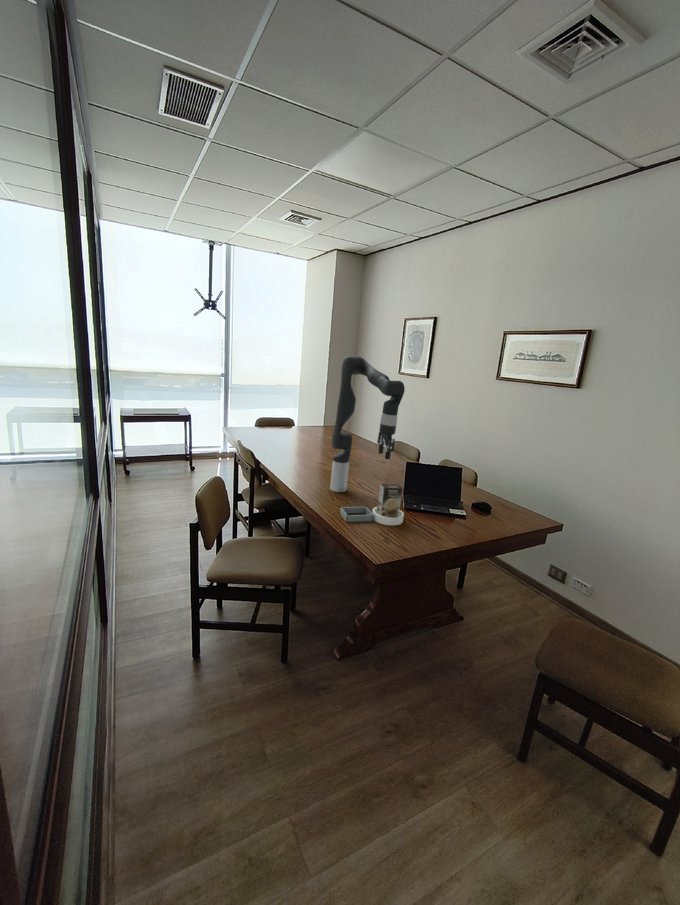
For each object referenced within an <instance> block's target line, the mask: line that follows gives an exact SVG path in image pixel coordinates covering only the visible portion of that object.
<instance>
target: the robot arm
mask: <svg viewBox="0 0 680 905" xmlns="http://www.w3.org/2000/svg"><path fill="white" fill-rule="evenodd" d="M355 375H356V376H357V375H362V376H365V377H366V378H367V381H368V382H369V383H370V384H371V385H373V386H374V387H376V388H377V389H378V390H379V391H380V392H381V393H382V394H383V395H385V396H387V397H390V399H388V400H386V401H384V402H383V405H382V414H381V417H380V424H379V432H378V436H377V444H378V451H377V453H378V454H380V455H382V454H384V448H385V454H384V459H385V460H390V458H391V453H392V452H394V451H395V442H396V438H393V435H395V434H396V430H397V424H398V423H397V422H398V413H399V412H398V411H399V406H400V405H401V401H402V399H403V396H404V394H405V390H406V388H405V384H404V383H403V381H401V380H391V379H390V377H389V376H388V375H387V374H385V373H383V372H381V371H379V370H377V369H376V368H375V367H373V366H372V365H371V364H370V363H369V362H368V361H367V360H366V359H365V358H363V357H362V356H358V355H357V356H354V355H351V356H350V355H349V356H345V357H344V358H343V360H342V364H341V374H340V376H341V377H340V387H339V393H338V394H339V396H338V401H337V409H336V418H335V423H334V427H333V432H332V436H331V447H332V448H333V449H335V450H341V451H340V452H338V453H334V455H333V456H332V464H331V474H330V486H329V489H330V491H332V492H335V493H344V492H346V491H347V485H348V475H349V467H350V466H349V465H350V457H351V452H352V451H351V450H352V444H353V435H352V434H351V433H350V432H342V430H343V427H344V425H345V424H346V423H347V422H348V421H349V419H350V418H351V417H352V416H353V415H354V413H355V408H356V402H357V398H356V396H355V393H354V390H353V388H352V376H355Z"/></svg>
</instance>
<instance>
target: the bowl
mask: <svg viewBox="0 0 680 905" xmlns="http://www.w3.org/2000/svg"><path fill="white" fill-rule="evenodd" d="M371 513H372V514H373V515H374V518H373V522H376V523H378V524H381V525H385V526H399V525H401V524H403V522H404V517H405V513H404V511H402V510H400V509H399V514H398V517H396V518H390V517H384V516H381V515H379V514H377V506H375V507H373V508H372V510H371Z"/></svg>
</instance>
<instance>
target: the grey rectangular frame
mask: <svg viewBox="0 0 680 905" xmlns="http://www.w3.org/2000/svg"><path fill="white" fill-rule="evenodd" d="M339 508H340V509H339V514H340V516H341V517H342V518H343V520H344V521H345V523H353V522H354V523H356V522H357V523H358V522H362V523H363V522H374V520H373V518H374V515H373V514H372V510H370V509H369V507H367V506H340V507H339ZM350 514H351V515H350Z"/></svg>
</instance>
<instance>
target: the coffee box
mask: <svg viewBox="0 0 680 905" xmlns="http://www.w3.org/2000/svg"><path fill="white" fill-rule="evenodd" d="M402 492H403V487H402V486H401V485H399V484H397V483H394V484H393V483H380V486H379V494H378V501H377V502H378V503H377V506H376V507H377V514H379V515H381V516H384V517H390V518H396V517H398V514H399V510H400V506H401V499H402Z"/></svg>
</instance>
